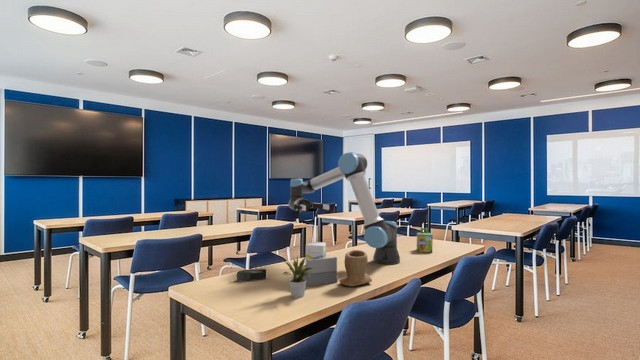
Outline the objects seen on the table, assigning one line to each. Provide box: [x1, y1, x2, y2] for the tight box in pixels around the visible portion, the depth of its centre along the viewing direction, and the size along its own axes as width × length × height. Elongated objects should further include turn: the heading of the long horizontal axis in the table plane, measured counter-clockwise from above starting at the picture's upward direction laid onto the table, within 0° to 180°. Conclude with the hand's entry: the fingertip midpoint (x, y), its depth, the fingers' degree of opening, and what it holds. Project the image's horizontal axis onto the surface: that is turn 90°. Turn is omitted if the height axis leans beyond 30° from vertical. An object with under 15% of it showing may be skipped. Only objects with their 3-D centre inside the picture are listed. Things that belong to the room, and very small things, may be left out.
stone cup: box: [338, 249, 373, 287], centre depth 154 cm, size 15×12×15 cm
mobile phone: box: [233, 268, 267, 283], centre depth 162 cm, size 5×3×15 cm
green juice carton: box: [416, 227, 434, 254], centre depth 225 cm, size 9×9×15 cm
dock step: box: [301, 256, 338, 287], centre depth 162 cm, size 14×16×11 cm
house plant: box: [282, 255, 315, 299], centre depth 138 cm, size 14×14×16 cm
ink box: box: [305, 241, 327, 268], centre depth 162 cm, size 8×8×12 cm
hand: (317, 207), depth 183 cm, fingers open, 13 cm apart
